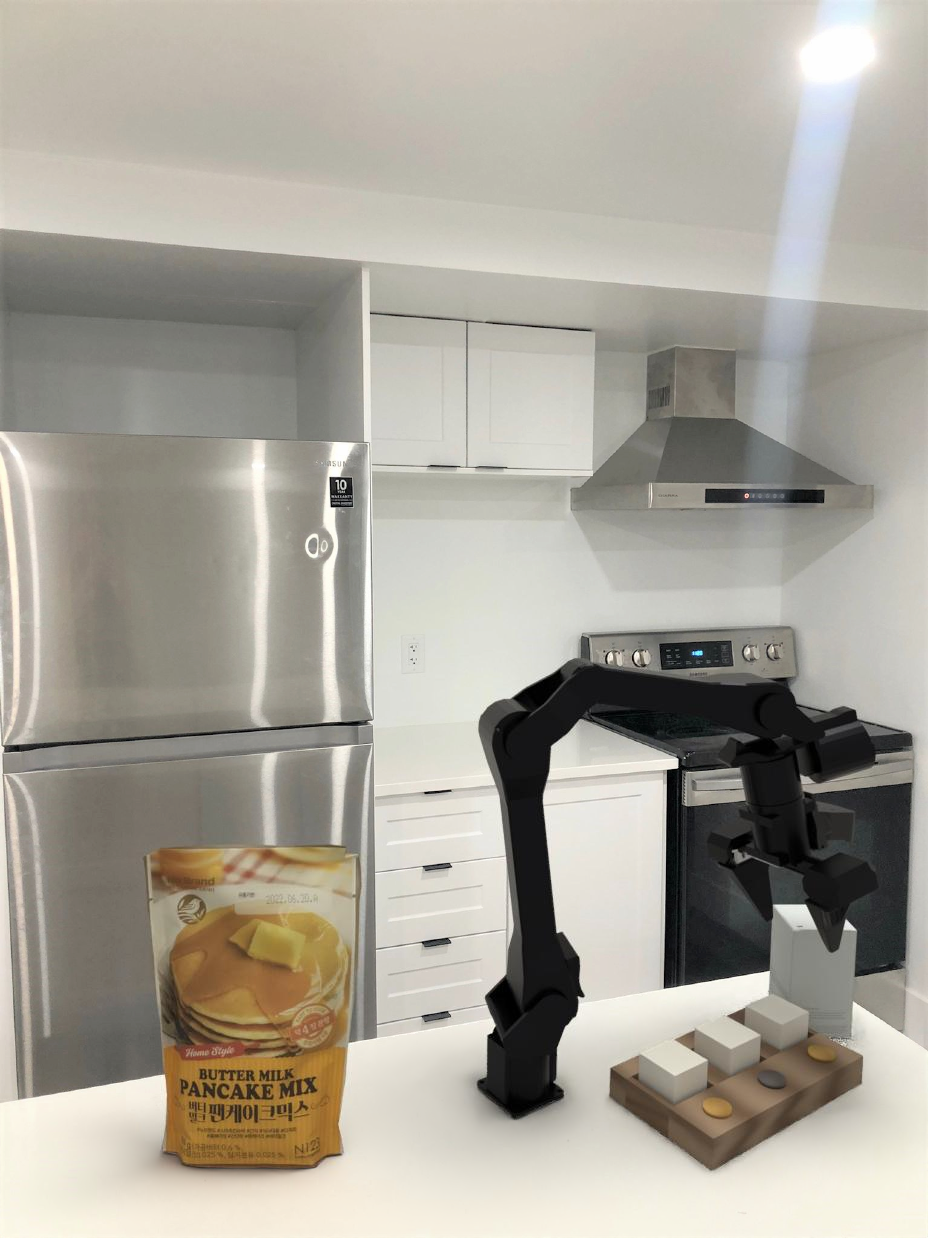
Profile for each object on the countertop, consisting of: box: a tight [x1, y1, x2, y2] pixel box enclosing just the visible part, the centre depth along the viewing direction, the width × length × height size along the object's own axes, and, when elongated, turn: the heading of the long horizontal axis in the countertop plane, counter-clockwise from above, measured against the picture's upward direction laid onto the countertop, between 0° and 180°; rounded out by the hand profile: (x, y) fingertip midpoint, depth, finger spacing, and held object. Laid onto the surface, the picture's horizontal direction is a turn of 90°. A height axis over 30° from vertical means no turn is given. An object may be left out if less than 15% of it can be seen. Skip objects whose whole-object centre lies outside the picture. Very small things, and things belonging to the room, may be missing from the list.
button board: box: [609, 1007, 864, 1171], centre depth 95 cm, size 23×13×3 cm, turn 125°
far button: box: [744, 994, 809, 1051], centre depth 100 cm, size 5×5×3 cm
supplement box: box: [768, 904, 858, 1039], centre depth 108 cm, size 7×7×13 cm
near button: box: [638, 1038, 708, 1106], centre depth 91 cm, size 5×5×3 cm
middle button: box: [694, 1014, 761, 1077], centre depth 96 cm, size 5×5×3 cm
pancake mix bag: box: [142, 843, 362, 1169], centre depth 84 cm, size 7×19×28 cm, turn 90°
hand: (799, 935), depth 98 cm, fingers open, 9 cm apart
